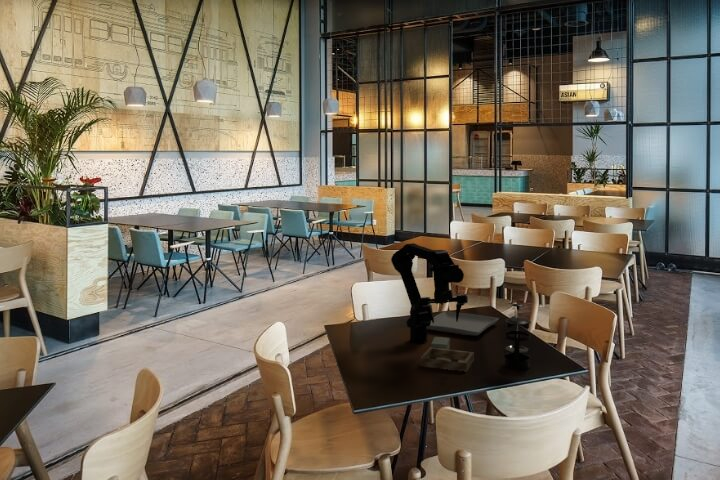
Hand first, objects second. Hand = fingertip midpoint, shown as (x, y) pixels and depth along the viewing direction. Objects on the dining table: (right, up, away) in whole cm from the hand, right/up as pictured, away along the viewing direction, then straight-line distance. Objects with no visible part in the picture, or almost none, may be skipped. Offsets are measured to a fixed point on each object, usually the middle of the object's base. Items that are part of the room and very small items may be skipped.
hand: (445, 322), depth 231 cm
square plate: (+12, -8, +35) cm, 38 cm away
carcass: (-1, -14, -12) cm, 18 cm away
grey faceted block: (-2, -12, +2) cm, 12 cm away
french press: (+24, -14, -15) cm, 31 cm away
